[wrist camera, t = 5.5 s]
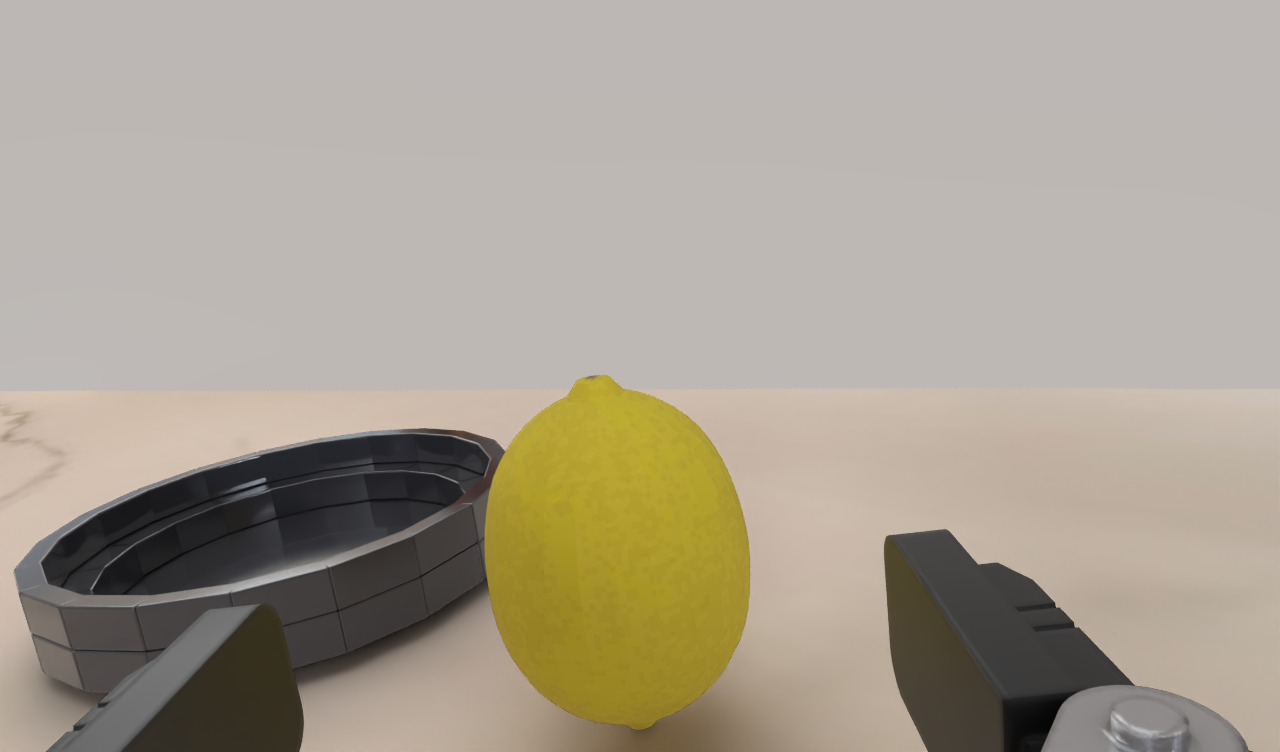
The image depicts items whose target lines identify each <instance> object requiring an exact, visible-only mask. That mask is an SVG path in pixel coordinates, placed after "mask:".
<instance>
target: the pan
mask: <svg viewBox="0 0 1280 752" xmlns="http://www.w3.org/2000/svg"><path fill="white" fill-rule="evenodd" d="M505 452H506V451H505V450H504V449H503V448H502V447H501V446H500V445H499V444H498V443H497V442H496V441H495V440H493V439H490V438H486V437H483V436H479V435H476V434H472V433H469V432H465V431H456V430H441V429H426V428H424V429H422V428H421V429H403V430H385V431H370V432H363V433H356V434H348V435H341V436H334V437H327V438H320V439H315V440H310V441H305V442H300V443H296V444H291V445H286V446H281V447H276V448H272V449H267V450H262V451H259V452H254V453H251V454H247V455H243V456H240V457H236V458H233V459H229V460H225V461H222V462H218V463H215V464H211V465H207V466H204V467H200V468H198V469H194V470H191V471H188V472H185V473H182V474H179V475H177V476H174V477H171V478H168V479H165V480H162V481H160V482H157V483H154V484H151V485H148V486H145V487H143V488H140V489H138V490H135V491H133V492H130V493H128V494H126V495H124V496H122V497H119V498H117V499H115V500H113V501H111V502H109V503H106V504H104V505H102V506H100V507H98V508H95V509H93V510H91V511H89V512H87V513H84V514H83V515H80V516H79V517H77V518H76V519H74V520H72V521H71V522H69V523H68V524H66V525H65V526H63V527H61V528H60V529H58V530H57V531H55V532H54V533H52V534H50V535H49V536H47V537H46V538H44V539H42V540H41V541H39V542H38V543H36V545H35V546H34V547H33V548H32V549H31V550H30V552H29V553H28V554H27V555H26V556H25V557H24V559H23V560H22V561H21V562H20V563H19V564H18V566H17V567H16V568H15V569H14V577H15V581H16V586H17V590H18V594H19V597H20V601H21V604H22V607H23V610H24V613H25V617H26V620H27V623H28V626H29V629H30V632H31V636H32V639H33V642H34V645H35V649H36V652H37V655H38V658H39V661H40V665H41V668H42V671H43V672H44V673H45V674H46V675H49V676H51V677H53V678H55V679H58V680H60V681H62V682H64V683H67V684H69V685H71V686H73V687H76V688H78V689H80V690H82V691H87V692H99V693H109V692H110V691H112V690H113V689H114V688H115V687H116V686H117V685H118V684H119V683H120V682H121V681H122V680H123V679H124V678H125V677H127V676H128V675H130V674H131V673H133V672H135V671H136V670H138V669H139V668H141V667H143V666H144V665H146V664H148V663H149V662H151V661H153V660H154V659H156V658H157V657H158V656H159V655H160V654H161V653H162V652H163V651H164V650H165V649H166V648H167V647H168V646H170V645H171V644H172V643H173V642H174V641H175V640H176V639H177V638H178V637H179V636H180V635H181V634H182V633H183V632H184V631H185V630H186V629H187V628H188V627H190V626H191V625H192V624H193V623H194V622H195V621H196V620H197V619H198V618H199V617H200V616H201V615H202V614H203V613H205V612H206V611H208V610H210V609H219V608H228V607H237V606H246V605H255V604H264V603H267V604H270V605H272V606H273V607H274V608H275V609H276V611H277V612H278V614H279V616H280V619H281V622H282V626H283V630H284V634H285V638H286V642H287V646H288V650H289V655H290V659H291V663H292V667H293V669H296V668H299V667H302V666H306V665H309V664H312V663H316V662H319V661H323V660H326V659H329V658H333V657H336V656H339V655H343V654H346V653H347V652H351V651H354V650H356V649H358V648H360V647H362V646H365V645H367V644H369V643H371V642H374V641H376V640H378V639H380V638H383V637H385V636H387V635H389V634H392V633H394V632H396V631H398V630H401V629H403V628H405V627H407V626H410V625H412V624H414V623H416V622H418V621H421V620H423V619H425V618H427V617H428V616H430V615H432V614H433V613H435V612H436V611H438V610H439V609H441V608H442V607H444V606H445V605H447V604H448V603H450V602H451V601H453V600H454V599H456V598H458V597H459V596H461V595H462V594H464V593H465V592H467V591H468V590H470V589H471V588H473V587H474V586H476V585H477V584H479V583H480V582H482V581H483V580H484V579H485V578H486V577H487V573H486V565H485V547H484V545H485V521H486V510H487V503H488V496H489V492H490V488H491V484H492V480H493V477H494V474H495V472H496V470H497V467H498V465H499V463H500V461H501V459H502V457H503V455H504V453H505Z"/></svg>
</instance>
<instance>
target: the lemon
mask: <svg viewBox="0 0 1280 752" xmlns="http://www.w3.org/2000/svg"><path fill="white" fill-rule="evenodd" d="M484 547H485V565H486V573H487V581H488V588H489V595H490V600H491V605H492V610H493V613H494V617H495V620H496V623H497V627H498V629H499V632H500V634H501V637H502V639H503V642H504V644H505V646H506V648H507V650H508V652H509V654H510V656H511V657H512V659H513V660H514V662H515V663H516V665H517V666H518V667H519V669H520V670H521V672H522V673H523V674H524V675H525V677H526V678H527V679H528V680H529V682H530V683H531V684H532V685H533V686H534V687H535V688H536V689H537V690H538V691H539V692H540V694H542V695H543V696H544V697H546V698H547V699H548V700H550V701H551V702H552V703H554V704H556V705H557V706H559V707H560V708H562V709H564V710H565V711H567V712H569V713H571V714H573V715H575V716H578V717H580V718H584V719H587V720H590V721H593V722H597V723H605V724H615V725H626V726H628V727H630V728H632V729H636V730H642V729H646V728H649V727H650V726H652V725H653V724H654V723H655V722H656V721H657V720H658V719H661V718H663V717H666V716H668V715H671V714H673V713H675V712H677V711H679V710H681V709H683V708H684V707H686V706H688V705H689V704H691V703H692V702H694V701H695V700H697V699H698V698H699V697H700V696H701V695H702V694H703V693H704V692H705V691H706V690H707V689H708V688H709V687H710V686H711V685H712V684H713V683H714V682H715V681H716V680H717V679H718V678H719V677H720V675H721V674H722V672H723V671H724V670H725V668H726V667H727V665H728V663H729V661H730V659H731V657H732V655H733V653H734V651H735V649H736V647H737V645H738V643H739V641H740V638H741V635H742V632H743V629H744V626H745V622H746V617H747V612H748V604H749V593H750V553H749V542H748V536H747V530H746V525H745V520H744V516H743V512H742V508H741V505H740V502H739V499H738V496H737V493H736V490H735V487H734V485H733V482H732V479H731V477H730V475H729V473H728V470H727V468H726V466H725V464H724V462H723V460H722V458H721V457H720V455H719V453H718V451H717V450H716V448H715V446H714V445H713V444H712V442H711V441H710V439H709V438H708V437H707V436H706V434H705V433H704V432H703V431H702V429H701V428H700V427H699V426H698V425H697V424H696V423H695V422H693V421H692V420H691V419H690V418H689V417H688V416H687V415H685V414H684V413H682V412H681V411H679V410H678V409H676V408H675V407H673V406H671V405H669V404H667V403H665V402H663V401H661V400H659V399H657V398H655V397H653V396H651V395H647V394H644V393H640V392H637V391H632V390H627V389H623V388H622V387H620V386H619V385H618V384H617V383H616V382H615V381H614V380H613V379H611V377H609V376H607V375H596V376H589V377H584V378H581V379H579V380H577V381H576V383H575V384H574V386H573V387H572V389H571V391H570V392H569V394H568V396H567V397H565V398H563V399H561V400H559V401H557V402H555V403H554V404H552V405H550V406H549V407H547V408H546V409H544V410H543V411H541V412H540V413H539V414H537V415H536V416H535V417H534V418H533V419H532V420H531V421H530V422H529V423H527V424H526V425H525V426H524V427H523V428H522V430H521V431H520V432H519V433H518V434H517V436H516V437H515V438H514V439H513V441H512V442H511V444H510V445H509V447H508V449H507V450H506V452H505V453H504V455H503V457H502V459H501V461H500V463H499V465H498V467H497V470H496V472H495V474H494V477H493V480H492V484H491V488H490V492H489V496H488V503H487V510H486V521H485V545H484Z"/></svg>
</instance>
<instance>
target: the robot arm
mask: <svg viewBox="0 0 1280 752" xmlns="http://www.w3.org/2000/svg"><path fill="white" fill-rule="evenodd" d="M884 561H885V576H886V591H887V606H888V621H889V635H890V649H891V657H892V663H893V668H894V673H895V677H896V681H897V685H898V688H899V691H900V694H901V697H902V699H903V701H904V703H905V705H906V707H907V710H908V712H909V714H910V716H911V718H912V720H913V722H914V724H915V726H916V728H917V730H918V732H919V734H920V736H921V738H922V740H923V742H924V744H925V746H926V749H927V751H928V752H1251V751H1249V750H1248V747H1247V745H1246V742H1245V740H1244V739H1243V738H1242V736H1241V735H1240V733H1239V732H1238V731H1237V730H1236V729H1235V728H1234V727H1233V726H1232V725H1231V724H1230V723H1229V722H1228V721H1226V720H1225V719H1224V718H1223V717H1221V716H1220V715H1219V714H1217V713H1215V712H1214V711H1212V710H1210V709H1209V708H1207V707H1205V706H1203V705H1201V704H1199V703H1197V702H1195V701H1192V700H1190V699H1187V698H1185V697H1182V696H1179V695H1176V694H1173V693H1169V692H1166V691H1162V690H1158V689H1153V688H1148V687H1140V686H1135V685H1134V684H1133V683H1132V682H1131V681H1130V680H1129V679H1128V678H1127V677H1126V676H1125V675H1124V674H1123V673H1122V672H1121V671H1120V670H1119V669H1118V668H1117V666H1116V665H1115V664H1114V663H1113V662H1112V661H1111V660H1110V659H1109V658H1108V657H1107V656H1106V655H1105V654H1104V653H1103V652H1102V651H1101V650H1100V649H1099V648H1098V647H1097V646H1096V645H1095V644H1094V643H1093V642H1092V641H1091V640H1090V639H1089V638H1088V636H1087V635H1086V634H1085V633H1084V632H1083V631H1082V630H1081V629H1080V628H1079V627H1078V628H1075V626H1074V622H1073V621H1072V620H1071V619H1070V618H1069V617H1068V616H1067V615H1066V614H1065V613H1064V612H1063V611H1062V610H1061V609H1060V608H1056V606H1055V602H1054V601H1053V600H1052V599H1051V598H1050V597H1049V596H1048V595H1047V594H1046V593H1045V592H1044V591H1043V590H1042V589H1041V588H1040V587H1039V586H1038V585H1037V584H1036V583H1035V582H1034V581H1033V580H1032V579H1030V578H1028V577H1026V576H1024V575H1022V574H1020V573H1018V572H1016V571H1013V570H1011V569H1009V568H1007V567H1005V566H1003V565H1001V564H999V563H989V564H979V565H978V564H977V563H976V562H975V561H974V559H973V558H972V557H971V556H970V555H969V554H968V552H967V551H966V550H965V549H964V548H963V547H962V546H961V544H960V543H959V542H958V541H957V540H956V539H955V537H954V536H953V535H952V534H951V533H950V532H949V531H948V530H946V529H943V530H934V531H925V532H916V533H907V534H898V535H889V536H887V537H886V539H885V544H884ZM73 727H74V729H73V731H71V732H66V733H65V734H64V735H63V736H62V737H61V738H60V739H59V740H58V741H57V742H56V743H55V744H54V745H53V746H51V747H50V748H49V749H48V750H47V751H46V752H299V750H300V747H301V742H302V737H303V727H304V717H303V709H302V704H301V700H300V696H299V692H298V688H297V683H296V679H295V675H294V671H293V667H292V663H291V659H290V655H289V650H288V646H287V642H286V638H285V634H284V630H283V626H282V622H281V619H280V616H279V614H278V612H277V611H276V609H275V608H274V607H273V606H272V605H270V604H267V603H264V604H255V605H246V606H237V607H228V608H219V609H210V610H208V611H206V612H205V613H203V614H202V615H201V616H200V617H199V618H198V619H197V620H196V621H195V622H194V623H193V624H192V625H191V626H190V627H188V628H187V629H186V630H185V631H184V632H183V633H182V634H181V635H180V636H179V637H178V638H177V639H176V640H175V641H174V642H173V643H172V644H171V645H170V646H168V647H167V648H166V649H165V650H164V651H163V652H162V653H161V654H160V655H159V656H158V657H157V658H156V659H154V660H153V661H151V662H149V663H148V664H146V665H144V666H143V667H141V668H139V669H138V670H136V671H135V672H133V673H131V674H130V675H128V676H127V677H125V678H124V679H123V680H122V681H121V682H120V683H119V684H118V685H117V686H116V687H115V688H114V689H113V690H112V691H110V692H109V693H108V694H107V695H106V696H105V697H104V698H103V699H102V700H101V701H100V702H99V703H98V708H94V709H91V710H90V711H89V712H88V713H87V714H86V715H85V716H84V717H83V718H81V719H80V720H79V721H78V722H77V723H76V724H75V725H74V726H73Z"/></svg>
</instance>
